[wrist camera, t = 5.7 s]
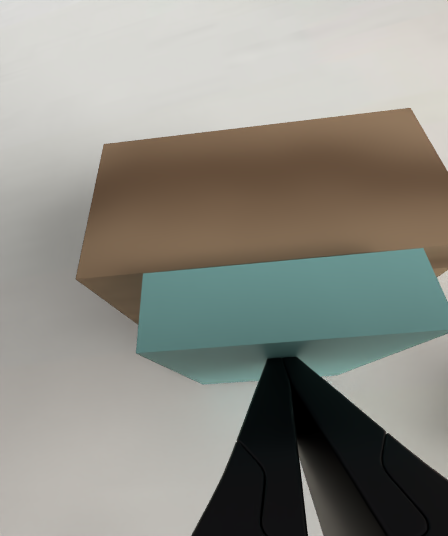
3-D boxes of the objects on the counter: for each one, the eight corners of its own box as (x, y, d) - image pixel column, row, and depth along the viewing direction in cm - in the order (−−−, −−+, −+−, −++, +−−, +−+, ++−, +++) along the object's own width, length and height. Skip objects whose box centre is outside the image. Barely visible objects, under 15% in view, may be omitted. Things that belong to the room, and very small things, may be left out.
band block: (370, 334, 15) (497, 256, 8) (161, 350, 16) (72, 294, 8) (341, 237, 18) (410, 107, 10) (165, 254, 19) (103, 144, 11)
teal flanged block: (336, 375, 14) (459, 329, 6) (202, 384, 15) (136, 353, 6) (305, 236, 18) (351, 88, 10) (200, 246, 19) (157, 112, 10)
